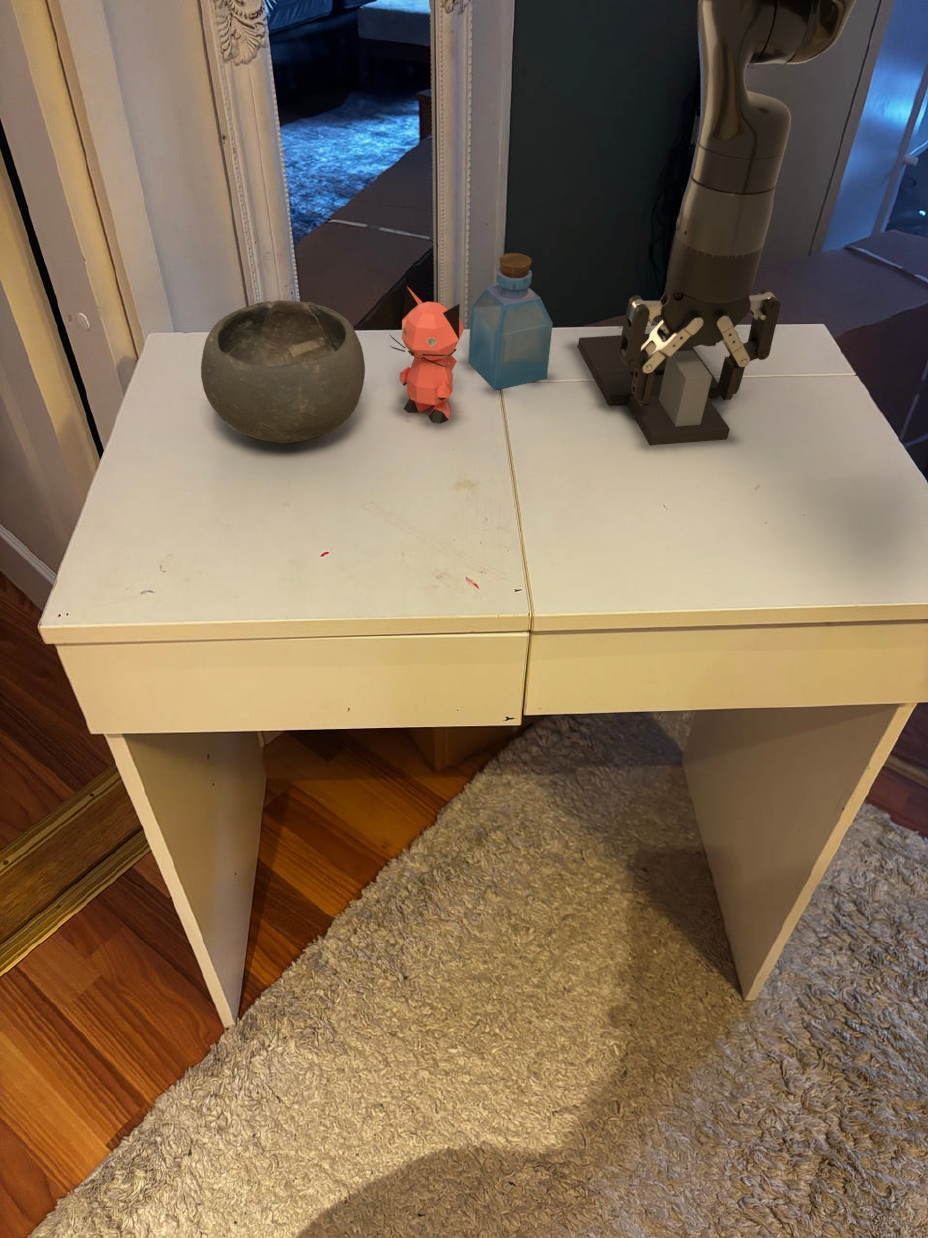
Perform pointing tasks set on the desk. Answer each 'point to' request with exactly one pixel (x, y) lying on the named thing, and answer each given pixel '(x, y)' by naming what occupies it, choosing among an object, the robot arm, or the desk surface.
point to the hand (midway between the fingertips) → (683, 398)
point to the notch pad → (620, 367)
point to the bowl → (283, 370)
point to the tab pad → (664, 426)
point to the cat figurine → (429, 354)
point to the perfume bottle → (510, 328)
